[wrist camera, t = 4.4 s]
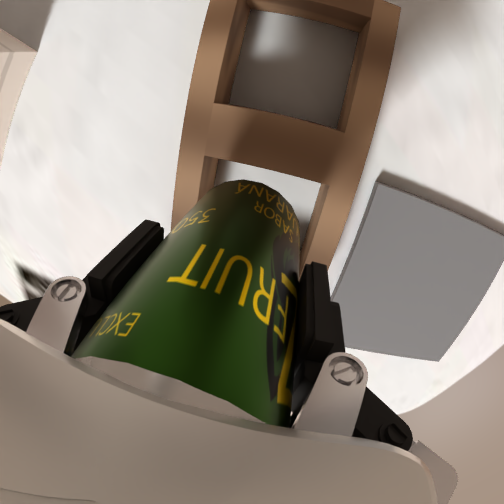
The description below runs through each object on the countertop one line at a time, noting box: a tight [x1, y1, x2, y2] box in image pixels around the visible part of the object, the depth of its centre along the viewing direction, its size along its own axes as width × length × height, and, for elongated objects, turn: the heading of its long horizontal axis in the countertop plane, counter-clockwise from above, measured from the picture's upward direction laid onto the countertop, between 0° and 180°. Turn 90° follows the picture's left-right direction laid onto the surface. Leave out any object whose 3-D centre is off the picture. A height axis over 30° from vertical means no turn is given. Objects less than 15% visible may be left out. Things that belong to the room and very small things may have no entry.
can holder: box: [171, 0, 401, 280], centre depth 16 cm, size 20×10×4 cm, turn 169°
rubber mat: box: [330, 181, 504, 362], centre depth 20 cm, size 14×14×1 cm
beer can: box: [71, 180, 300, 428], centre depth 10 cm, size 5×5×12 cm
